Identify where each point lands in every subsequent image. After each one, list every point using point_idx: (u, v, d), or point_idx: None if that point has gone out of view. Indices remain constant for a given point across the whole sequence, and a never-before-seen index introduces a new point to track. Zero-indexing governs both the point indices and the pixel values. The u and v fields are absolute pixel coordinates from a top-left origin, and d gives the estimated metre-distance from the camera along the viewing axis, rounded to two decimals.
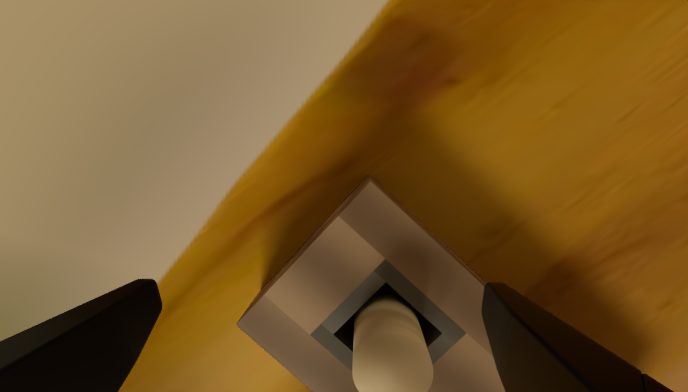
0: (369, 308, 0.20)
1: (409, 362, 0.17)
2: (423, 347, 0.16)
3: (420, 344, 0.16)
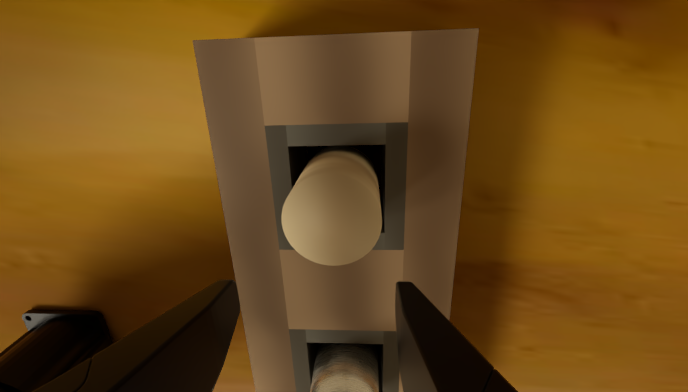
0: (346, 154, 0.16)
1: (355, 228, 0.13)
2: None
3: (381, 220, 0.13)
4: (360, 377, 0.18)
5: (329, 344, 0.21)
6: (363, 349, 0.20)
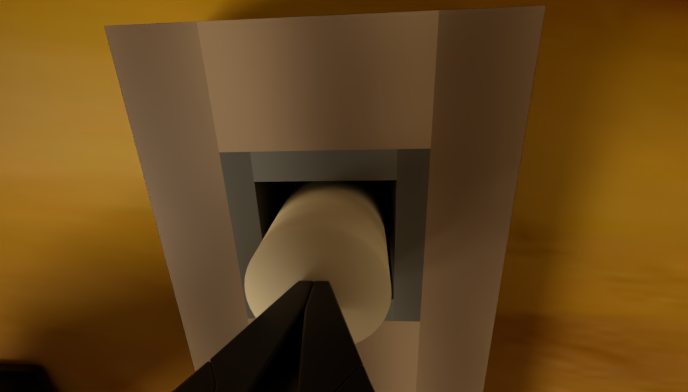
0: (341, 185, 0.11)
1: (353, 301, 0.09)
2: (390, 298, 0.09)
3: None
4: None
5: None
6: None
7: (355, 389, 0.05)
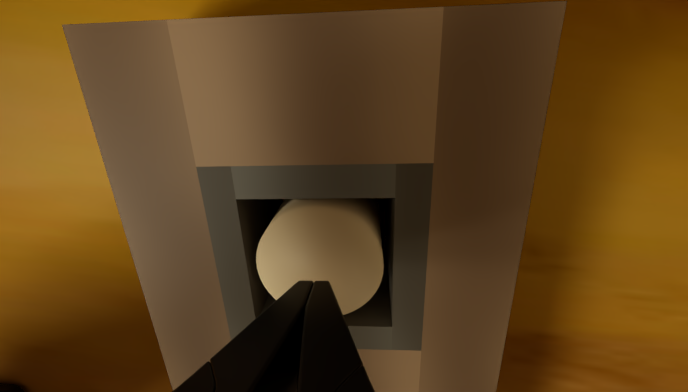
0: None
1: (350, 273, 0.11)
2: (382, 270, 0.11)
3: (383, 264, 0.10)
4: None
5: None
6: None
7: (355, 389, 0.05)
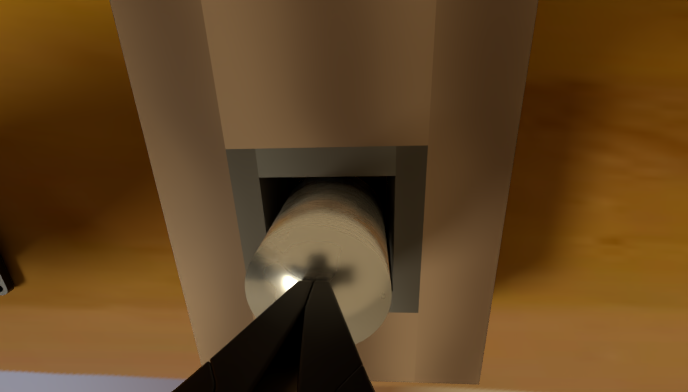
0: None
1: None
2: None
3: None
4: (353, 210, 0.10)
5: (302, 185, 0.12)
6: (360, 189, 0.12)
7: (355, 389, 0.05)
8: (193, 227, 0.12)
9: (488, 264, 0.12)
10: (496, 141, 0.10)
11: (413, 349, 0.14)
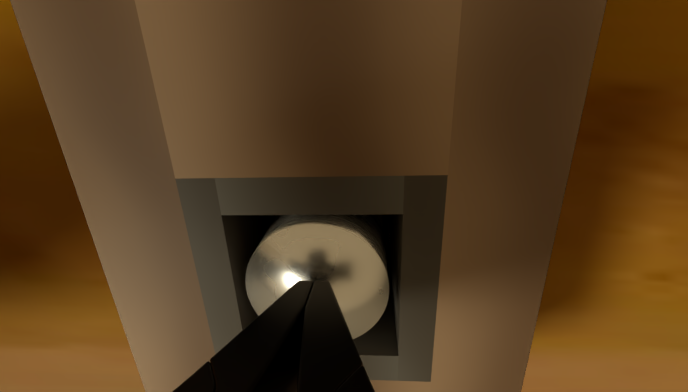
0: None
1: None
2: None
3: None
4: None
5: None
6: None
7: (355, 389, 0.05)
8: (139, 276, 0.09)
9: (523, 325, 0.09)
10: (541, 170, 0.08)
11: None
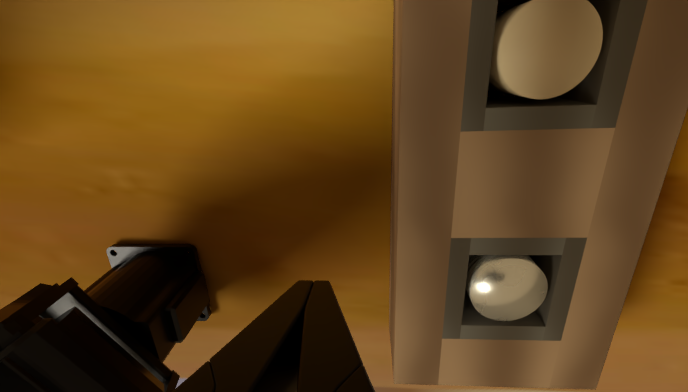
0: None
1: (573, 54, 0.14)
2: (597, 52, 0.14)
3: (600, 45, 0.14)
4: None
5: None
6: None
7: (355, 389, 0.05)
8: (415, 285, 0.18)
9: (615, 309, 0.18)
10: (632, 235, 0.16)
11: (552, 365, 0.20)
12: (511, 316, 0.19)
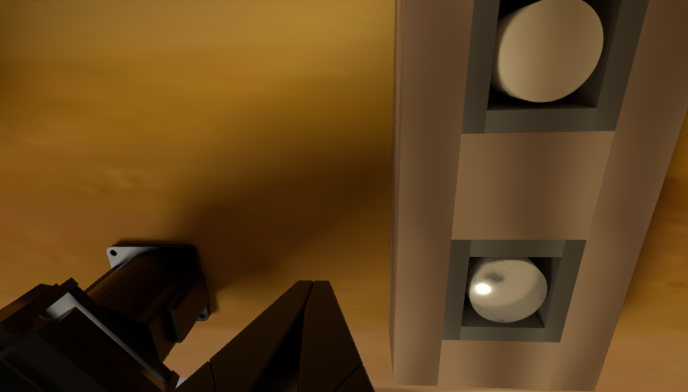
0: None
1: (574, 57, 0.14)
2: (598, 55, 0.14)
3: (600, 49, 0.14)
4: None
5: None
6: None
7: (355, 389, 0.05)
8: (415, 286, 0.18)
9: (614, 311, 0.18)
10: (631, 238, 0.17)
11: (551, 366, 0.20)
12: (510, 317, 0.19)
